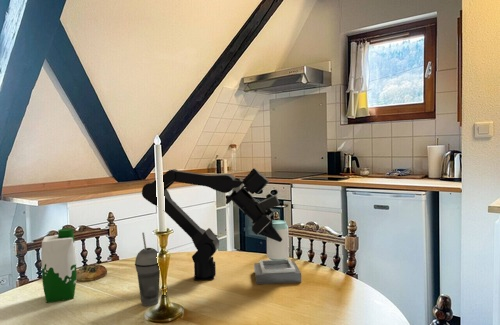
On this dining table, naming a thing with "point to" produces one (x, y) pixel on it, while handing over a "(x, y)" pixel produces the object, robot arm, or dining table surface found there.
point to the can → (276, 248)
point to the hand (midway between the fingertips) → (281, 237)
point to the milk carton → (59, 266)
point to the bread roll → (91, 272)
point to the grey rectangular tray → (276, 272)
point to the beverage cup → (148, 275)
